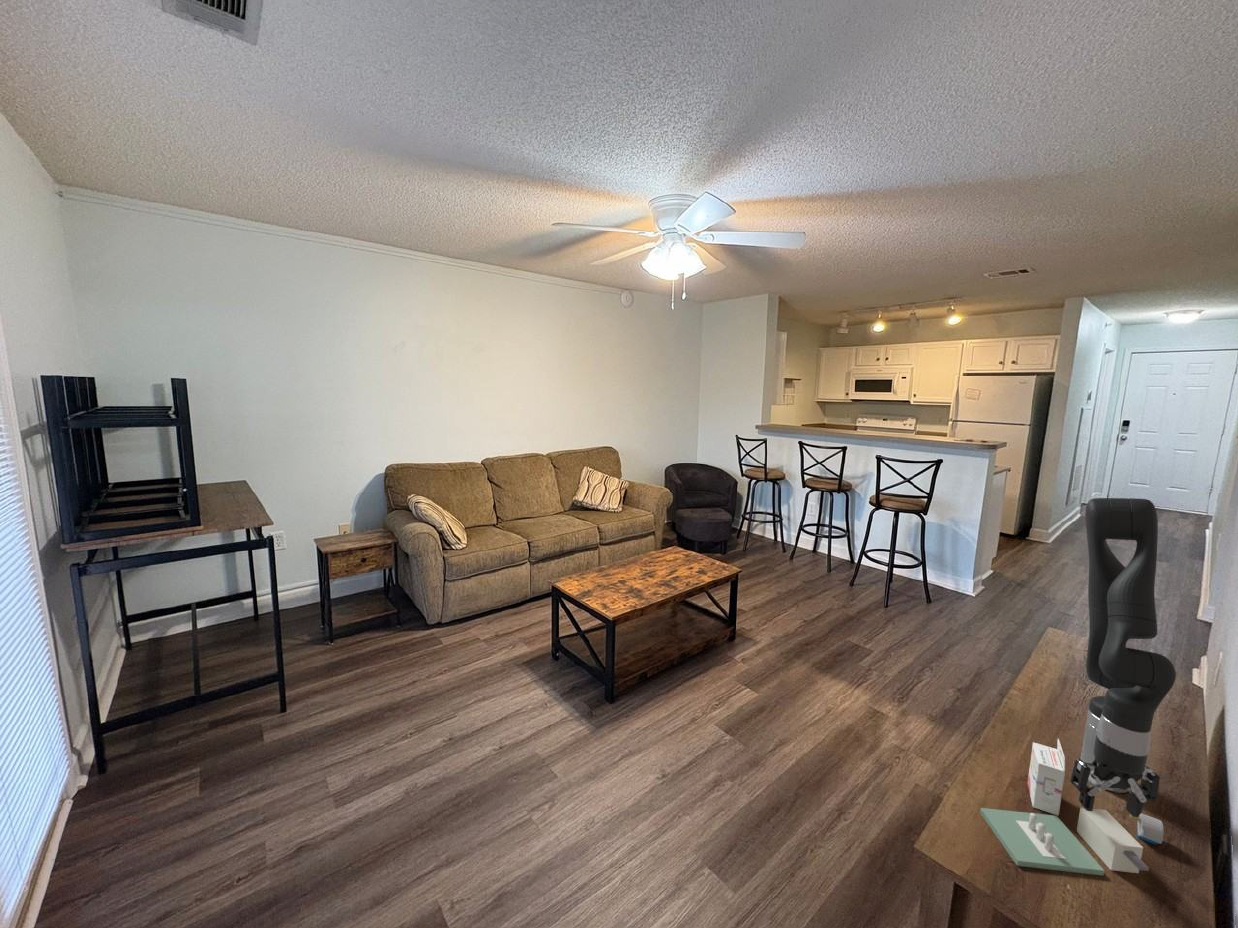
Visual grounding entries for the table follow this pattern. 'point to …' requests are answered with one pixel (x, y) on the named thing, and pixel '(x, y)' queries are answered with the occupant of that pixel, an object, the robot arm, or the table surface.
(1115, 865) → the plug housing
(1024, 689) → the table surface
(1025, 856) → the board
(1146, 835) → the electric motor
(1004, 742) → the table surface
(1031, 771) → the ink cartridge box
